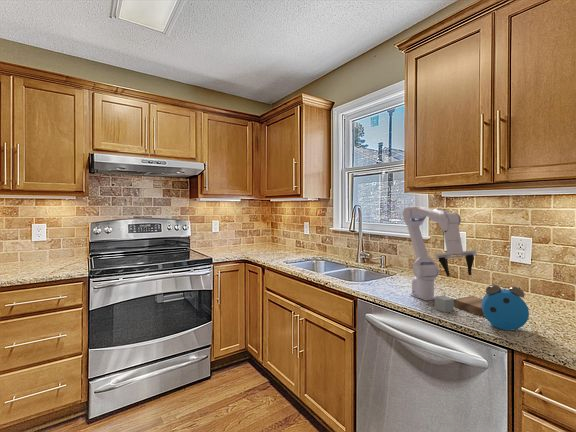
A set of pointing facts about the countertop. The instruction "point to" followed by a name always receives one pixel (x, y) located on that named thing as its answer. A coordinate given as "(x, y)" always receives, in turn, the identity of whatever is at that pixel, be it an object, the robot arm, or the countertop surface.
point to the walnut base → (470, 304)
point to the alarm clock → (505, 307)
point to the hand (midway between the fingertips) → (459, 275)
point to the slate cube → (444, 303)
